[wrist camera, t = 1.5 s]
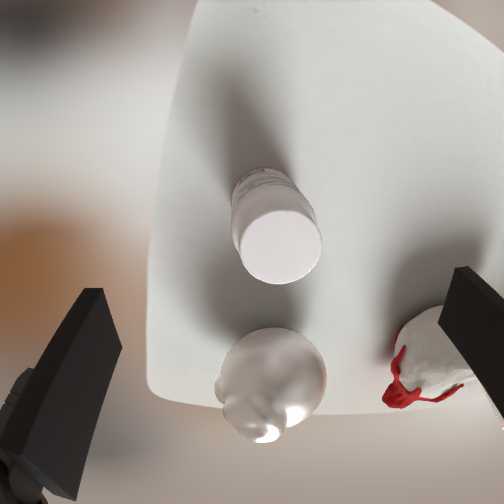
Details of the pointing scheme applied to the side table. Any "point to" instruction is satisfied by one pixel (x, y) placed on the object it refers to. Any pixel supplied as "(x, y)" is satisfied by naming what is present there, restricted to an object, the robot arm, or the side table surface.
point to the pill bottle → (274, 227)
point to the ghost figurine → (270, 383)
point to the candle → (426, 363)
